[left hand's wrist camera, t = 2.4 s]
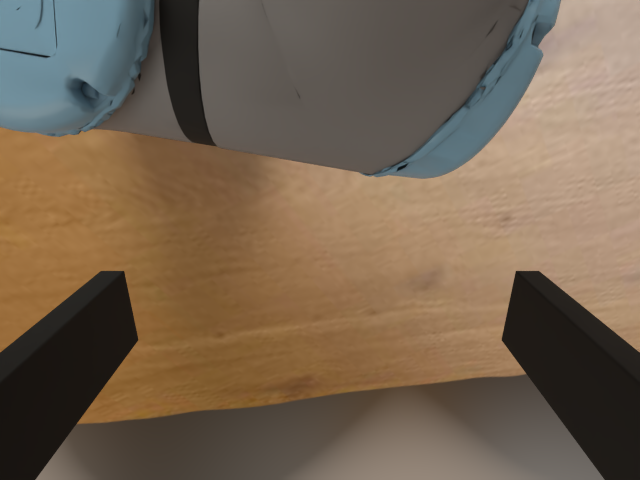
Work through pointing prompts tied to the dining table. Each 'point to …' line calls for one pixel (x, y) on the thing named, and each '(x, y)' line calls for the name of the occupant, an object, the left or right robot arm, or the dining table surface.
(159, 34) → the left robot arm
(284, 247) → the dining table surface
